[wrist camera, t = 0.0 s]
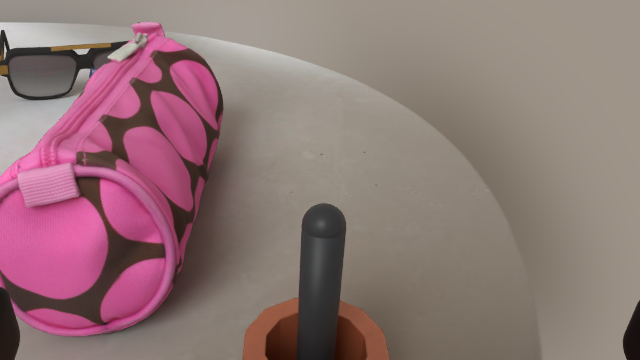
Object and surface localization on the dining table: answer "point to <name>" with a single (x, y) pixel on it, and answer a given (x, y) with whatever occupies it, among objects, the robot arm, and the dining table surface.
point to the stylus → (320, 282)
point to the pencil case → (111, 191)
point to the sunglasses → (49, 67)
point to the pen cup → (281, 334)
